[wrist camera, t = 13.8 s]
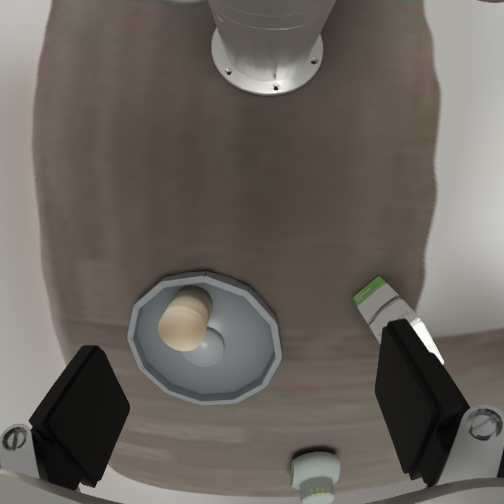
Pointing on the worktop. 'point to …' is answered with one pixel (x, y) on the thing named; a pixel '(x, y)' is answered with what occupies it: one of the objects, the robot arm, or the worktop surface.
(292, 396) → the worktop surface
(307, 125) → the worktop surface
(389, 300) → the ink box
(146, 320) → the ring tray
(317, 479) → the air freshener
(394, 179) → the worktop surface
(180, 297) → the beige cylinder
